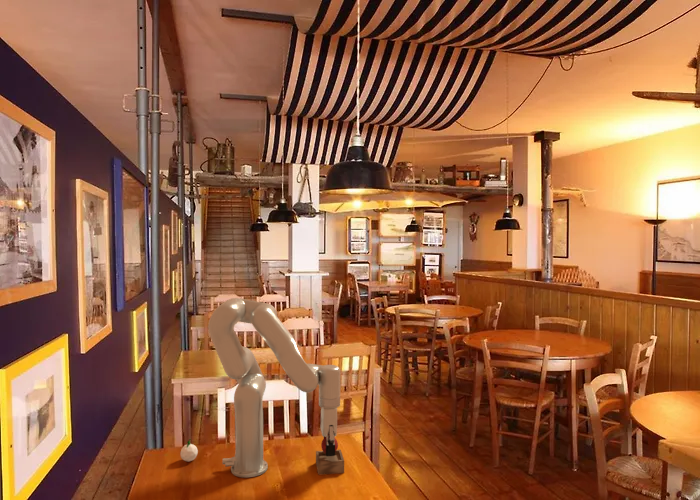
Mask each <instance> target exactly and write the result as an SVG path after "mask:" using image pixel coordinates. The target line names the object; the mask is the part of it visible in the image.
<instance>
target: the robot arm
mask: <svg viewBox="0 0 700 500" xmlns="http://www.w3.org/2000/svg"><path fill="white" fill-rule="evenodd" d="M239 322H240V323H245V324H251V325H252V326H253V328H254V329H255V331H256V332H257V333H258V334H259V336H260V337H261V338H262V340H263V341H264V342H265V343H266V345H267V346H268V348H269V349H270V350H271V351H272V352H273V354H274V356H275V358H276V359H277V361H278V363H279V364H280V366H281V367H282V369H283V371H284V372H285V374H286V375H287V376H288V379H290V380H291V382H292V383H293V385H295V387H296V388H297V389H298V390H300V391H301V392H303V393H311V392H314V390H316V388H317V387H318V406H319V407H320V409H321V410H320V432H321V436H322V437H323V439H324V438H325V437H326V441H327V444H326V456H335V439H336V437H337V433H338V408H339V407H341V368H340V367H339V366H338V365H335V364H324V365H321V364H315V363H307V362H306V361H305V359H304V358H303V356H302V354H301V353H300V351H299V349H298V346H297V342H296V340H295V338H294V337H293V335H292V333H291V332H290V331H289V330H288V328H287V327H286V326H285V325H284V324H283V323H282V321H281V320H280V319H279V317H278V312H277V309H276V308H275V306H273V305H272V304H271V303H266V302H262V301H255V300H252V299H251V300H249V299H245V298H240V297H239V298H238V297H232V298H230V299H227V300H226V301H224V302H223V303H221V304H220V305H219V306H217V307H216V308H215V309H214V311H213V312H212V313H211V316H210V317H209V320H208V327H207V329H208V334H209V337H210V339H211V342H212V345H213V346H214V349H215V351H216V355H217V357H218V358H219V361H220V363H221V365H222V368H223V369H224V370H223V371H224V373H225V374H226V376H227V377H228V378H230V379H231V380H235V381H237V383H238V384H237V385H236V388H235V391H234V394H233V405H234V418H235V419H234V420H235V421H234V423H235V426H234V427H235V434H234V435H235V436H234V437H235V440H234V441H235V453H234V456H232V457H229V458H228V457H227V458H222V463H221V464H222V465H225V467H228V468H229V467H230V472H231V474H232V475H233V476H236V477H238V478H245V479H246V478H253V477H257V476H260V475H263V474H264V473H266V471H267V470H268V462H267V461H266V460H265V459H264V410H263V407H264V406H263V398H264V395H265V392H266V387H267V383H266V380H265V377H264V374H263V372H262V369H261V368H260V365H259V363H258V361H257V359H256V356H255V354H254V353H253V351H252V350H251V349H250V348H248V347H247V346H242V344H241V341H240V338H239V336H238V334H237V333H236V331H235V328H234V327H235V325H236V324H238V323H239ZM328 434H330V435H329V436H328ZM328 437H330V439H329V440H328Z"/></svg>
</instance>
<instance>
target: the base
mask: <svg viewBox="0 0 700 500" xmlns="http://www.w3.org/2000/svg"><path fill="white" fill-rule="evenodd" d="M315 464H316V470H317V474H318V475H319V476H320V475H321V476H322V475H333V474H334V475H335V474H344V473H345V459H344V456H343V453H342V450H341V449H337V450H336V451H335V456H326V454H325V453H324V452H323V450H316V451H315Z"/></svg>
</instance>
